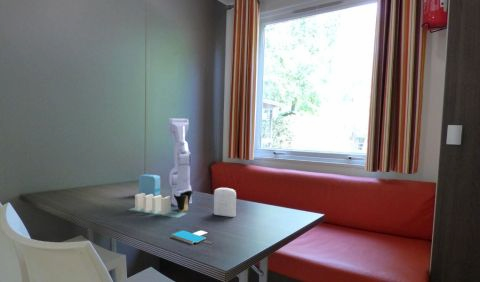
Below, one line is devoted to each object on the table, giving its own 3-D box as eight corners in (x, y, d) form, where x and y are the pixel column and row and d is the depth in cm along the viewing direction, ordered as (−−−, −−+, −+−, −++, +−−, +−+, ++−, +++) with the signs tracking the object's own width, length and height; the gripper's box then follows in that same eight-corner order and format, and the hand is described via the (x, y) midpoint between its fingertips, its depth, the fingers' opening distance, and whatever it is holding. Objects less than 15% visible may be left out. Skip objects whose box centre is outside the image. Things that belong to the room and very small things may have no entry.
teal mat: (128, 210, 138) (128, 209, 138) (138, 206, 145) (138, 206, 145) (178, 218, 127) (178, 217, 127) (187, 214, 134) (187, 213, 134)
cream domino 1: (135, 210, 138) (134, 195, 138) (142, 207, 142) (142, 193, 142) (137, 210, 137) (137, 195, 137) (145, 207, 142) (145, 193, 142)
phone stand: (224, 239, 106) (224, 234, 106) (201, 250, 96) (201, 245, 96) (185, 227, 117) (185, 223, 117) (161, 236, 108) (161, 232, 108)
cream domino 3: (152, 212, 134) (152, 197, 134) (159, 209, 138) (159, 195, 138) (155, 213, 133) (154, 197, 133) (162, 210, 138) (162, 195, 138)
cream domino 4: (161, 214, 132) (161, 198, 132) (168, 211, 137) (168, 196, 136) (164, 214, 131) (164, 199, 131) (170, 211, 136) (170, 196, 136)
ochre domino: (179, 212, 136) (179, 197, 136) (185, 209, 140) (185, 195, 140) (181, 213, 135) (181, 197, 135) (188, 210, 140) (188, 195, 140)
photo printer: (237, 215, 133) (237, 187, 133) (234, 217, 129) (234, 189, 129) (215, 212, 136) (216, 186, 136) (212, 215, 132) (212, 188, 132)
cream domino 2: (143, 211, 136) (143, 196, 136) (150, 208, 140) (150, 194, 140) (146, 211, 135) (146, 196, 135) (153, 209, 140) (153, 194, 140)
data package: (160, 196, 166) (160, 175, 166) (154, 198, 162) (154, 176, 162) (144, 194, 172) (144, 173, 171) (138, 195, 168) (138, 174, 167)
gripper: (181, 176, 145) (181, 203, 146) (168, 181, 131) (168, 211, 131) (195, 176, 144) (195, 204, 144) (183, 182, 129) (183, 212, 130)
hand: (183, 208), depth 138 cm, fingers closed on ochre domino, 5 cm apart
